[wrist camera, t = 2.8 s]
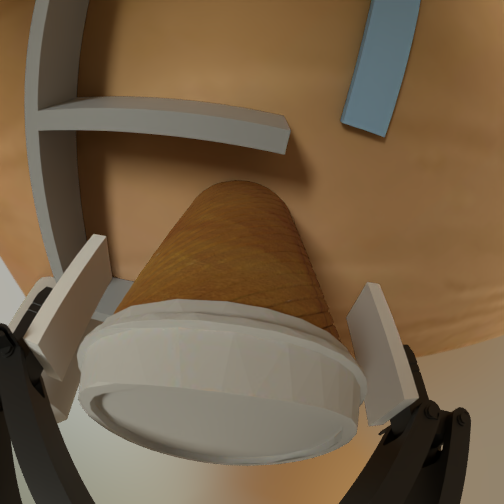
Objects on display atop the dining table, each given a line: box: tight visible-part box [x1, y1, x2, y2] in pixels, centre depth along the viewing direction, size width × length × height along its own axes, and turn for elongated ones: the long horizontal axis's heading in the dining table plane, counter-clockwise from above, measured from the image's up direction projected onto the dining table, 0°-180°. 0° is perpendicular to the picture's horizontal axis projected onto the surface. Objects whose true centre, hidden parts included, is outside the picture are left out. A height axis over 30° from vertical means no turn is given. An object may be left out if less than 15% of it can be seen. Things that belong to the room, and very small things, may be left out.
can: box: [8, 277, 102, 423], centre depth 17 cm, size 8×8×12 cm
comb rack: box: [25, 0, 291, 322], centre depth 11 cm, size 27×12×4 cm, turn 169°
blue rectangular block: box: [340, 0, 421, 137], centre depth 9 cm, size 11×2×1 cm, turn 169°
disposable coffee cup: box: [77, 180, 367, 466], centre depth 12 cm, size 10×10×12 cm
